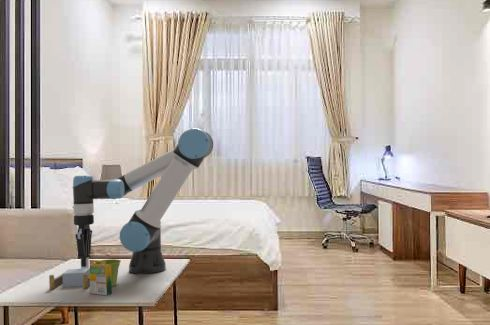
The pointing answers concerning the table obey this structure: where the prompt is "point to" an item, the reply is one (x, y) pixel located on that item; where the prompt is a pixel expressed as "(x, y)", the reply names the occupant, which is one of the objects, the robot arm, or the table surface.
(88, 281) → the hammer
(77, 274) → the block
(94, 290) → the crayon box
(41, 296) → the table surface
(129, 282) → the table surface
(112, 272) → the plant pot
